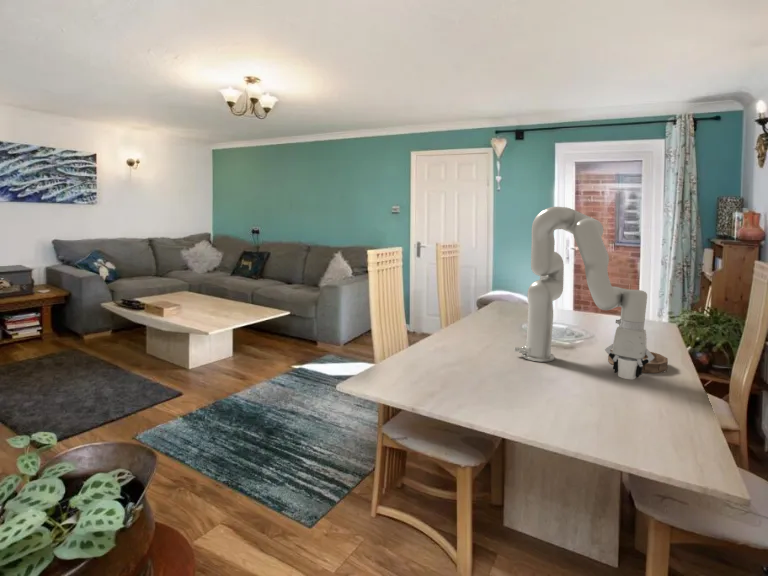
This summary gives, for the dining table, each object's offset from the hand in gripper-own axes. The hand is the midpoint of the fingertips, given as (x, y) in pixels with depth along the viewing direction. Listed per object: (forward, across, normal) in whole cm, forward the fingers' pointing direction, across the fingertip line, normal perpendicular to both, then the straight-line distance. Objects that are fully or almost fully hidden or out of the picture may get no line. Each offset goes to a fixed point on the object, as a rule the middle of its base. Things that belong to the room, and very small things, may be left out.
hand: (627, 373), depth 163 cm
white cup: (+1, 0, 0) cm, 1 cm away
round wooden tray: (+1, 0, +18) cm, 18 cm away
